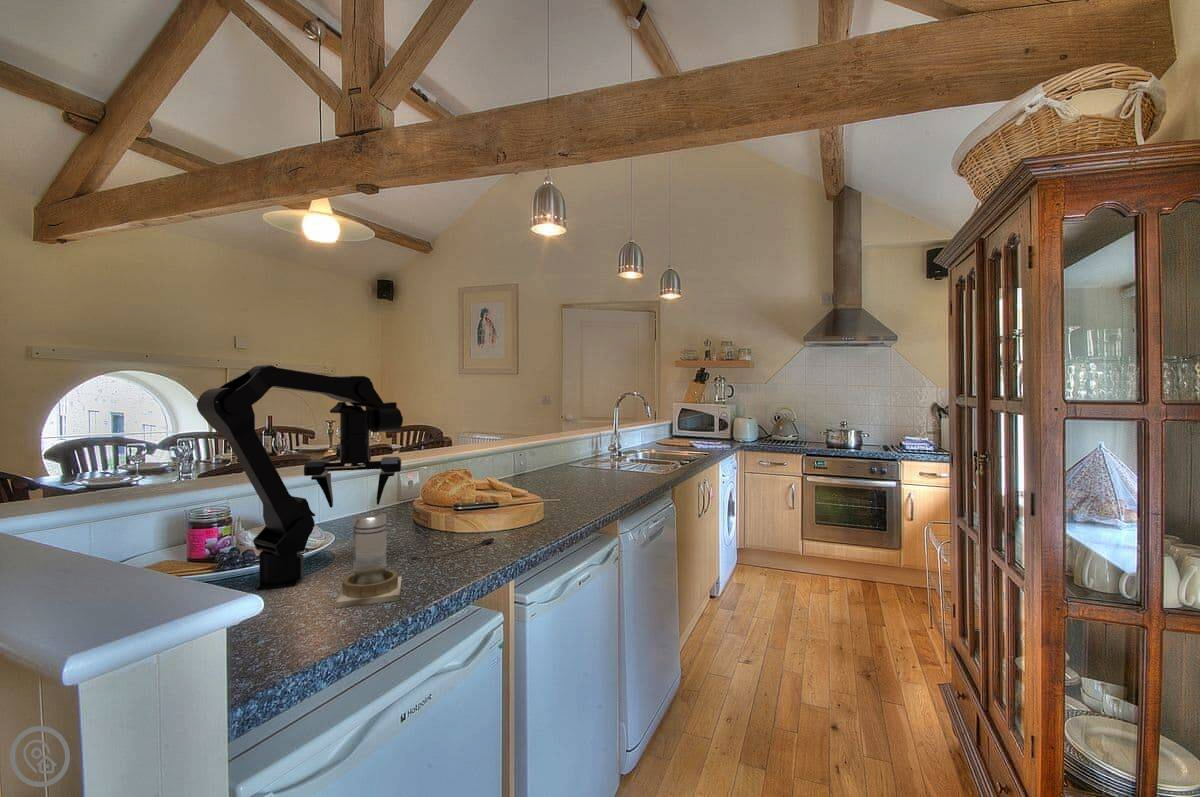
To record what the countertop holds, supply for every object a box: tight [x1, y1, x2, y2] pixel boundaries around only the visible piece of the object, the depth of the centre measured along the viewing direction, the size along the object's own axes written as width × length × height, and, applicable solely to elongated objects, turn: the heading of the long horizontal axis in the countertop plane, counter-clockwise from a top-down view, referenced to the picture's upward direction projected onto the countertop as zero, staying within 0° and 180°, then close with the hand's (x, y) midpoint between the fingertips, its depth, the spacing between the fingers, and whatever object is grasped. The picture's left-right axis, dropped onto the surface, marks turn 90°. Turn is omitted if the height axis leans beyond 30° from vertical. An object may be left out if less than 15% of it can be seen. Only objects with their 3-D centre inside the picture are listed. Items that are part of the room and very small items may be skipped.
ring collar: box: [335, 568, 403, 609], centre depth 95 cm, size 10×10×3 cm
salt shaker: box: [353, 512, 387, 585], centre depth 95 cm, size 5×5×13 cm
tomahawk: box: [410, 538, 495, 561], centre depth 120 cm, size 21×7×1 cm, turn 136°
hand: (355, 505), depth 114 cm, fingers open, 9 cm apart
